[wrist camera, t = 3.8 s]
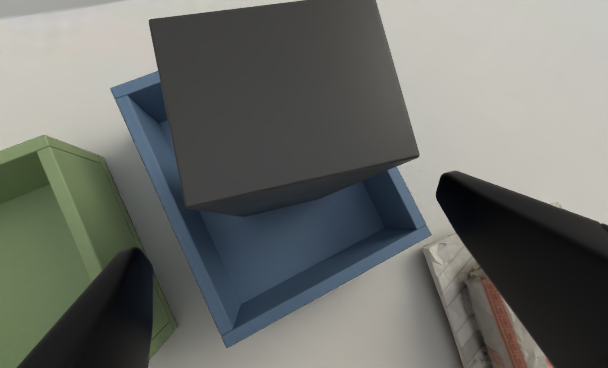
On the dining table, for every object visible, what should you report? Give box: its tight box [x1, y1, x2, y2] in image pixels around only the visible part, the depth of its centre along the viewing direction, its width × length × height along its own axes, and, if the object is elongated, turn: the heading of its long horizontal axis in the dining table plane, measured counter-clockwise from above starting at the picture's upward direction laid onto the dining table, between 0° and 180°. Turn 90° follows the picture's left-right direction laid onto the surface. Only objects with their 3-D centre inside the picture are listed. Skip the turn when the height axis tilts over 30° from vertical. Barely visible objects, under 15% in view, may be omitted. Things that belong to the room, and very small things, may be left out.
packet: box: [149, 0, 419, 217], centre depth 12 cm, size 4×5×12 cm
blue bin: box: [111, 71, 431, 348], centre depth 16 cm, size 13×11×5 cm
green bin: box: [0, 135, 177, 368], centre depth 14 cm, size 11×11×5 cm
